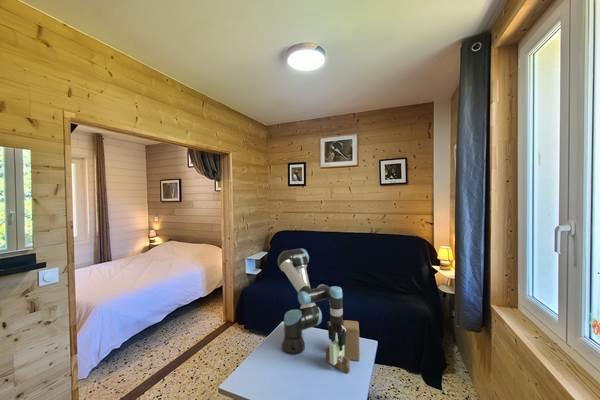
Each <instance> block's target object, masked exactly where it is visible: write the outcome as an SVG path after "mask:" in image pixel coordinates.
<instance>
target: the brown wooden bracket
mask: <svg viewBox="0 0 600 400" xmlns="http://www.w3.org/2000/svg"><path fill="white" fill-rule="evenodd" d="M325 361H326V362H327V363H329V364H331V363H330V347H329V346H326V347H325ZM331 365H332V366H333V367H335V368H337V369H339V370H340V371H342V372H344V373H345V374H347V375H348V374H349V373H350V372H351V371H350V369H351V368H350V367H351V366H350V360H349V358H348V357H346V356H343V357H342V360H341V359H339V358H337V363H336V364H335V365H333V364H331Z"/></svg>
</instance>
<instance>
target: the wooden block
mask: <svg viewBox="0 0 600 400" xmlns="http://www.w3.org/2000/svg"><path fill="white" fill-rule="evenodd" d="M342 324H343V327H344V328H347V331H346V342H345V345H344V355H345V356H346V357H348V358H349V361H357V362H359V361H360V358H361V357H360V353H361V352H360V327H359V326H360V325H359V324H360V323H359V321H357V320H348V319H347V320H344V319H343V322H342Z"/></svg>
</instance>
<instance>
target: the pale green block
mask: <svg viewBox="0 0 600 400" xmlns="http://www.w3.org/2000/svg"><path fill="white" fill-rule="evenodd" d="M335 339H336V340H335V341H333V342H332V341H331V342H330V343H329V344H328V345H329V346H328V347H330V363H331V365H332V364H333V365H332V366H334V365H335V364H336V363H337V359H338V360H340V361H342V357H343V356H345V355H344V345H343V346H342V348H343V350H342V355H341V356H339V357H338V344H339V343H338V338H335ZM330 363H329V364H330Z"/></svg>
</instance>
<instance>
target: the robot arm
mask: <svg viewBox="0 0 600 400" xmlns="http://www.w3.org/2000/svg"><path fill="white" fill-rule="evenodd" d="M309 262H310V255H309V253H308V251H307V249H305V248H294V249H289V250H288V249H286V250H283V251H282V252H281V253H280V254H279V256H278V257H277V265H278V268H279V270H281V272H284V274H285V275H286V277H287V278H288V281H290V283H291V285H292V286H293V287H294V289H295V291H296V292H297V300H298V303H299V304H300V307H299V309H290V310H288V311H286V312H285V314H284V316H283V317H284V318H283V330H284V331H283V332H284V337H283V341H282V344H281V350H282V351H283V352H284V353H285V354H287V355H292V356H293V355H298V354H301V353H302V352H304V351H305V347H306V345H305V341H304V340H305V339H304V338H303V331H306V330H308V329H310V328H313V327H317V326H318V325H320V324H321V322H322V320H323V314H322V311H321V309H320V307H319V306H317V303H316V302H321V301H324V300H326V301H328V302H329V320H328V321H327V322H326V326H327V334H328V339H329V340H330V342H331V343H332V342H333V341H335V340H336V339H338V343H339V344H338V357H339V356H341V355H342V350H343V348H342V346H343V345H345V342H346V331H347V328H344V327H343V320H344V311H343V310H344V309H343V289H342V287H340V286H337V285H334V286H328V285H326V284H323V283H322V284H319V285H318V286H317V287H316V288H311V284H310V281H309V275H308V271H307V267H308V263H309ZM336 336H337V338H336ZM338 357H337V358H338Z"/></svg>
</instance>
